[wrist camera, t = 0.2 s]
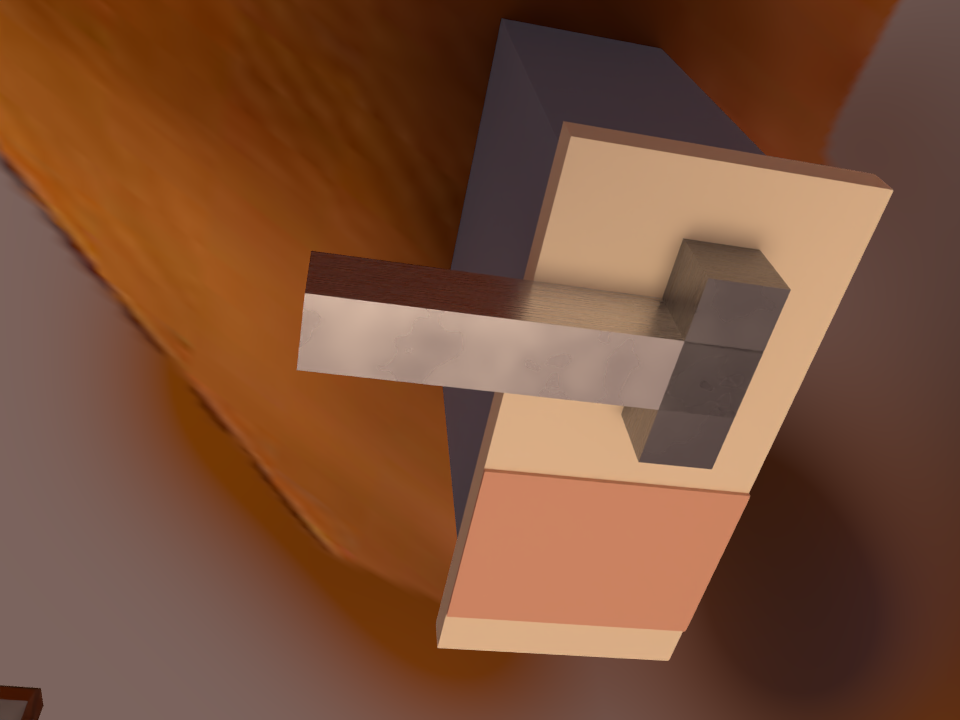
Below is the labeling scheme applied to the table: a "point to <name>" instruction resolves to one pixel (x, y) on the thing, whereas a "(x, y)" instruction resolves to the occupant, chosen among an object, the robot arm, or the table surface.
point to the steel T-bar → (559, 338)
